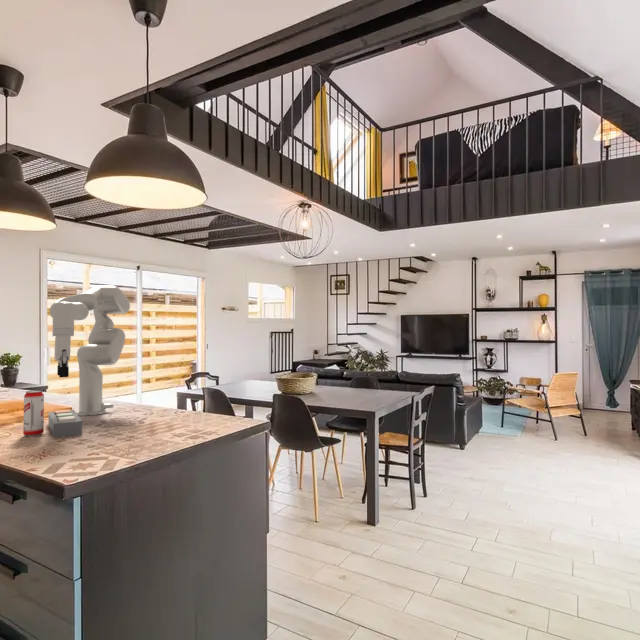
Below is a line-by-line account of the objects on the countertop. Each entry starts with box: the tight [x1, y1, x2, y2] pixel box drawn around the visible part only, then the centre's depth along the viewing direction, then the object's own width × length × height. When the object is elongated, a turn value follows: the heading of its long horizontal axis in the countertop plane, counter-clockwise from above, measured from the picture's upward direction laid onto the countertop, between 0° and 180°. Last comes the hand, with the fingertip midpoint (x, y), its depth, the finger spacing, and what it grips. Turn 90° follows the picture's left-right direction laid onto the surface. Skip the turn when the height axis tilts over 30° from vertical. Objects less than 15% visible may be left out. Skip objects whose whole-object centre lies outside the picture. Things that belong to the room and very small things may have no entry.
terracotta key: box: [54, 409, 71, 415], centre depth 180 cm, size 5×5×3 cm
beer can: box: [22, 389, 45, 437], centre depth 164 cm, size 6×6×16 cm
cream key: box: [58, 416, 75, 422], centre depth 167 cm, size 5×5×3 cm
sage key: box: [57, 413, 73, 418], centre depth 174 cm, size 5×5×3 cm
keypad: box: [48, 409, 83, 439], centre depth 174 cm, size 9×27×5 cm, turn 34°
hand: (62, 375), depth 181 cm, fingers open, 8 cm apart
